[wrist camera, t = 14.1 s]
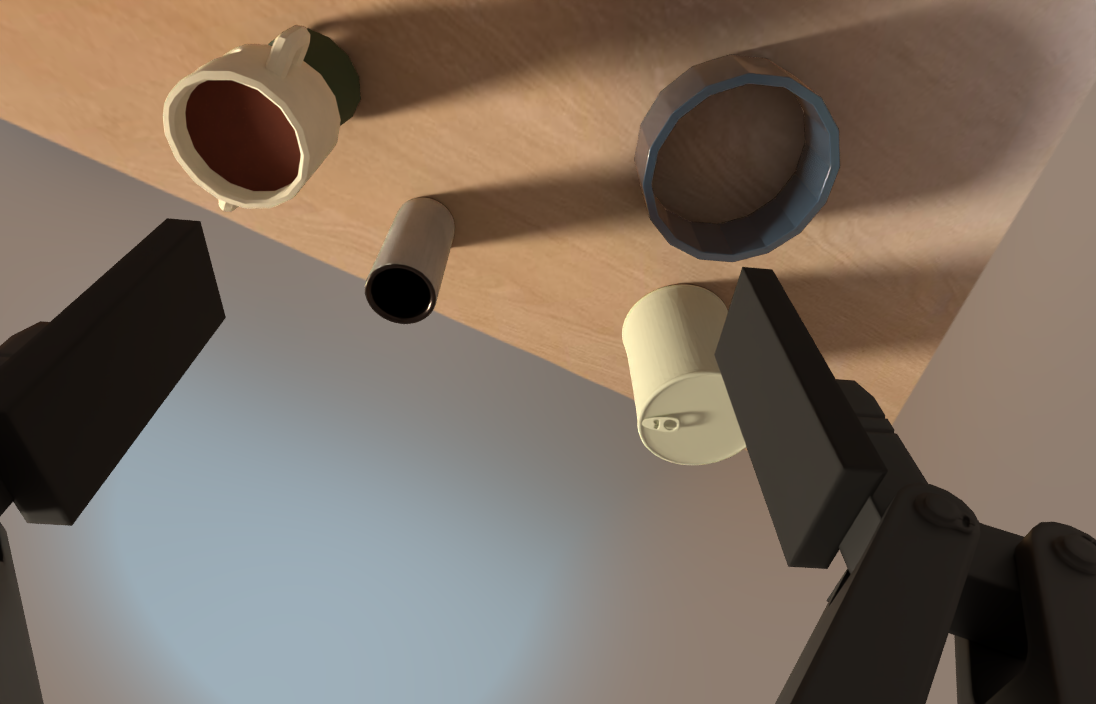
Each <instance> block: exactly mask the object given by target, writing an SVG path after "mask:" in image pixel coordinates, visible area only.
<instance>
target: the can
mask: <svg viewBox="0 0 1096 704" xmlns="http://www.w3.org/2000/svg"><path fill="white" fill-rule="evenodd" d="M727 314H728V310H727V308H726V306H725V304H724V303H723V301H722V300H721V299H720V298H719V297H718V296H716V295H715V294H714V293H712V292H711V291H709V290H707V289H704V288H702V287H699V286H694V285H687V284H679V285H670V286H666V287H663V288H660V289H657V290H655V291H653V292H650V293H649V294H647V295H645V296H644V297H643V298H641V299H640V300H639V301H638V302H637V303H636V304H635V305H634V306H633V307H632V308H631V310H630V311H629V313H628V315H627V316H626V319H625V321H624V325H623V330H622V338H623V344H624V346H625V349H626V351H627V356H628V362H629V367H630V373H631V379H632V385H633V392H634V398H635V404H636V411H637V419H638V432H639V435H640V438H641V440H642V442H643V443H644V445H645V446H646V447H647V448H648V449H649V450H650V451H651V452H652V453H653V454H655V455H656V456H658V457H660V458H662V459H664V460H666V461H669V462H672V463H677V464H682V465H704V464H710V463H715V462H718V461H722V460H724V459H727V458H729V457H732V456H734V455H736V454H737V453H739V452H740V451H742V450H744V449H745V448H746V444H745V441H744V438H743V436H742V433H741V430H740V427H739V424H738V421H737V418H736V415H735V413H734V410H733V407H732V404H731V401H730V398H729V395H728V393H727V390H726V387H725V384H724V381H723V378H722V375H721V373H720V370H719V367H718V364H717V361H716V358H715V355H714V354H715V351H716V348H717V345H718V342H719V339H720V335H721V332H722V329H723V326H724V323H725V320H726V317H727Z"/></svg>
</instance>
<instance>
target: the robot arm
mask: <svg viewBox="0 0 1096 704" xmlns="http://www.w3.org/2000/svg"><path fill="white" fill-rule="evenodd" d="M224 319H225V313H224V309H223V306H222V302H221V298H220V294H219V291H218V287H217V283H216V279H215V275H214V272H213V268H212V264H211V260H210V256H209V252H208V248H207V245H206V241H205V237H204V233H203V229H202V226H201V222H200V221H191V220H179V219H166V220H165V221H164V222H163V223H162V224H160V225H159V226H158V227H157V228H156V229H155V230H153V231H152V232H151V233H150V234H149V235H148V236H147V237H146V238H145V239H143V240H142V241H141V242H140V243H139V244H138V245H137V246H135V247H134V248H133V249H132V250H131V251H130V252H129V253H128V254H126V255H125V256H124V257H123V258H122V259H121V260H120V261H118V262H117V263H116V264H115V265H114V266H113V267H112V268H111V269H110V270H109V271H107V272H106V273H105V274H104V275H103V276H102V277H100V278H99V279H98V280H97V281H96V282H95V283H94V284H93V285H92V286H90V287H89V288H88V289H87V290H86V291H85V292H83V293H82V294H81V295H80V296H79V297H78V298H77V299H76V300H75V301H73V302H72V303H71V304H70V305H69V306H68V307H67V308H65V309H64V310H63V311H62V312H61V313H60V314H59V315H58V316H56V317H55V318H54V319H53V320H52V321H51V322H39V323H36V324H35V325H33V326H31V327H29V328H26V329H24V330H23V331H21V332H18V333H17V334H15V335H13V336H11V337H10V338H9V339H8V340H6V341H5V342H4V343H3V344H2V345H1V346H0V516H1V515H2V514H3V513H4V511H5V510H6V509H7V508H8V506H9V505H10V504H11V503H12V502H14V503H15V505H16V506H17V508H18V510H19V511H20V513H21V514H22V516H23V517H24V519H25V520H26V522H27V523H36V524H53V525H70V526H72V525H73V524H74V522H75V521H76V519H77V518H78V517H79V515H80V514H81V513H82V511H83V510H84V509H85V507H86V506H87V505H88V503H89V502H90V500H91V499H92V498H93V496H94V495H95V494H96V492H97V491H98V490H99V488H100V487H101V485H102V484H103V483H104V482H105V480H106V479H107V477H108V476H109V475H110V473H111V472H112V471H113V469H114V468H115V467H116V465H117V464H118V463H119V461H120V460H121V459H122V457H123V456H124V455H125V453H126V452H127V450H128V449H129V448H130V446H131V445H132V444H133V442H134V441H135V440H136V438H137V437H138V436H139V434H140V433H141V431H142V430H143V429H144V427H145V426H146V425H147V423H148V422H149V421H150V419H151V418H152V417H153V415H154V414H155V412H156V411H157V410H158V408H159V407H160V406H161V404H162V403H163V402H164V400H165V399H166V398H167V396H168V395H169V393H170V392H171V391H172V390H173V388H174V387H175V385H176V384H177V383H178V381H179V380H180V379H181V377H182V376H183V375H184V373H185V372H186V371H187V369H188V368H189V366H190V365H191V363H192V362H193V361H194V360H195V358H196V357H197V356H198V354H199V353H200V352H201V350H202V349H203V348H204V346H205V344H206V343H207V342H208V341H209V339H210V338H211V337H212V335H213V334H214V332H215V331H216V330H217V329H218V327H219V326H220V324H221V323H222V322H223V320H224ZM714 355H715V358H716V361H717V364H718V367H719V370H720V373H721V375H722V378H723V381H724V384H725V387H726V390H727V393H728V395H729V398H730V401H731V404H732V407H733V410H734V413H735V415H736V418H737V421H738V424H739V427H740V430H741V433H742V436H743V438H744V441H745V444H746V447H747V450H748V453H749V456H750V458H751V461H752V464H753V467H754V470H755V473H756V476H757V478H758V481H759V484H760V487H761V490H762V493H763V496H764V498H765V501H766V504H767V507H768V510H769V513H770V516H771V518H772V521H773V524H774V527H775V530H776V533H777V536H778V539H779V541H780V544H781V547H782V550H783V553H784V556H785V558H786V561H787V564H788V566H789V567H805V568H806V567H807V568H822V569H828V567H829V565H830V564H831V562H832V561H833V559H834V557H835V556H836V554H837V552H838V551H839V549H840V551H841V554H842V556H843V558H844V561H845V563H846V565H847V568H848V569H847V570H846V572H845V573H844V575H843V576H842V578H841V579H840V581H839V583H838V584H837V585H836V587H835V589H834V590H833V592H832V593H831V595H830V596H829V598H828V599H827V601H828V604H827V606H826V608H825V610H824V612H823V614H822V616H821V618H820V619H819V622H818V623H817V625H816V627H815V629H814V631H813V633H812V635H811V637H810V638H809V640H808V642H807V644H806V646H805V648H804V650H803V652H802V654H801V656H800V657H799V659H798V661H797V663H796V665H795V667H794V669H793V671H792V673H791V674H790V676H789V678H788V680H787V682H786V684H785V686H784V688H783V690H782V692H781V693H780V695H779V697H778V699H777V701H776V703H775V704H925V703H926V700H927V697H928V694H929V691H930V688H931V685H932V682H933V679H934V676H935V673H936V669H937V667H938V664H939V661H940V657H941V654H942V651H943V648H944V645H945V642H946V639H947V636H948V633H950V634H953V635H955V657H956V678H957V679H956V680H957V702H958V704H1096V540H1095V539H1094V538H1092V537H1091V536H1090V535H1088V534H1086V533H1084V532H1082V531H1080V530H1078V529H1076V528H1073V527H1072V526H1068V525H1065V524H1061V523H1057V522H1041V523H1039V524H1038V525H1036V526H1035V527H1033V528H1032V530H1031V531H1030V532H1029V533H1028V534H1027V535H1026V536H1025V537H1023V536H1020V535H1017V534H1013V533H1010V532H1006V531H1004V530H1000V529H997V528H994V527H990V526H987V525H984V524H982V523H979V521H978V520H977V518H976V516H975V514H974V512H973V511H972V510H971V509H970V508H969V507H968V506H967V505H966V504H965V503H964V502H963V501H962V500H960V499H959V498H957V497H956V496H954V495H953V494H951V493H950V492H948V491H946V490H944V489H941V488H939V487H936V486H934V485H931V484H928V483H927V481H926V480H925V478H924V476H923V475H922V473H921V472H920V470H919V468H918V467H917V465H916V463H915V462H914V460H913V459H912V457H911V456H910V454H909V452H908V451H907V449H906V448H905V446H904V444H903V443H902V441H901V440H900V438H899V436H898V435H897V434H894V429H893V427H892V425H891V424H890V422H889V421H888V419H885V414H884V413H883V411H882V409H881V408H880V406H879V405H878V403H877V401H876V400H875V398H874V397H873V396H872V395H871V394H869V393H868V392H867V391H866V390H865V389H864V388H862V387H861V386H860V385H859V384H858V383H857V382H855V381H852V380H839V379H835V377H834V376H833V374H832V372H831V370H830V369H829V367H828V365H827V363H826V362H825V360H824V358H823V356H822V355H821V353H820V351H819V350H818V348H817V346H816V344H815V343H814V341H813V339H812V337H811V336H810V334H809V332H808V330H807V329H806V327H805V325H804V323H803V322H802V320H801V318H800V317H799V315H798V313H797V311H796V310H795V308H794V306H793V304H792V303H791V301H790V299H789V297H788V296H787V294H786V292H785V290H784V289H783V287H782V285H781V283H780V282H779V280H778V278H777V277H776V275H775V273H774V271H773V270H771V269H760V268H748V267H742V270H741V273H740V276H739V279H738V282H737V286H736V289H735V292H734V295H733V298H732V301H731V304H730V307H729V310H728V314H727V317H726V320H725V323H724V326H723V329H722V332H721V335H720V339H719V342H718V345H717V348H716V351H715V354H714ZM0 704H44V703H43V699H42V694H41V689H40V685H39V680H38V675H37V671H36V666H35V662H34V657H33V653H32V648H31V643H30V639H29V634H28V629H27V625H26V620H25V615H24V611H23V606H22V601H21V597H20V592H19V588H18V583H17V578H16V574H15V569H14V564H13V560H12V555H11V550H10V546H9V541H8V537H7V532H6V530H5V529H4V527H3V526H2V524H1V523H0Z"/></svg>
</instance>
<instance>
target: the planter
mask: <svg viewBox="0 0 1096 704" xmlns="http://www.w3.org/2000/svg"><path fill="white" fill-rule="evenodd" d="M454 231H455V224H454V220H453V217H452V215H451V213H450V212H449V210H448V209H447V208H446V207H445V206H444V205H443V204H441V203H440V202H438V201H436V200H433V199H430V198H423V197H421V198H414V199H411V200H409V201H407V202H406V203H404V204H403V205H402V206H401V208H400V209H399V211H398V212H397V214H396V216H395V218H394V221H393V223H392V225H391V227H390V229H389V232H388V234H387V236H386V238H385V240H384V243H383V245H382V247H381V249H380V251H379V254H378V256H377V258H376V260H375V262H374V264H373V267H372V269H371V271H370V273H369V275H368V278H367V280H366V283H365V295H366V299H367V301H368V303H369V305H370V306H371V308H372V309H373V310H374V311H375V312H376V313H377V314H379V315H380V316H381V317H383V318H385V319H387V320H389V321H391V322H394V323H400V324H411V323H416V322H419V321H421V320H423V319H425V318H426V317H427V316H429V315H430V314H431V312H432V311H433V309H434V307H435V305H436V301H437V297H438V294H439V290H440V286H441V282H442V279H443V275H444V271H445V267H446V264H447V260H448V256H449V252H450V248H451V245H452V241H453V237H454Z"/></svg>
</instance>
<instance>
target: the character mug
mask: <svg viewBox="0 0 1096 704" xmlns="http://www.w3.org/2000/svg"><path fill="white" fill-rule="evenodd" d="M360 99H361V97H360V82H359V76H358V74H357V72H356V70H355V68H354V66H353V64H352V62H351V60H350V58H349V56H348V55H347V54H346V53H345V52H344V51H343V50H342V49H341V48H340V47H339V46H338V45H337V44H335V43H334V42H333V41H332V40H331V39H330V38H329V37H326V36H324V35H322V34H320V33H317V32H315V31H313V30H310V29H308V28H307V29H306V27H304V26H298V25H295V26H293V27H291V28H289V29H287V30H286V31H284V32H282V33H281V34H280V35H279V36H278V37H277V38H276V39H274V40H273V41H271V42H270V43H269V44H268V45H261V44H246V45H242V46H239V47H236V48H234V49H232V50H231V51H229V52H228V53H226V54H225V55H223V56H222V57H219V58H216V59H214V60H212V61H210V62H208V63H206V64H205V65H203V66H201V67H199V68H198V69H197V70H196V71H195V72H193V73H192V74H190V75H188V76H186V77H184V78H183V79H181V80H180V81H179V82H178V83H177V84H176V86H175V87H174V88H173V89H172V90H171V91H170V93H169V95H168V97H167V99H166V101H165V103H164V111H163V122H164V131H165V136H166V138H167V140H168V143H169V145H170V147H171V150H172V152H173V154H174V157H175V159H176V160H177V161H178V162H179V164H180V165H181V166H182V167H183V169H184V170H185V171H186V172H187V174H188V175H189V176H190V177H191V178H192V180H193V181H194V182H195V183H197V184H198V185H199V186H201V187H202V188H203V189H205V190H206V191H208V192H209V193H210V194H212V195H213V196H214V197H216V198H217V199H219V207H220V208H221V209H222V210H223V211H228V212H232V211H233V210H235V209H236V208H237V207H242V208H272V207H275V206H277V205H279V204H281V203H284V202H286V201H288V200H291V199H292V198H293V197H294V196H296V194H297V193H298V192H299V191H300V189H301V188H302V187H303V186H304V185H305V183H306V182H307V181H308V180H309V178H310V177H311V176H312V175H313V173H314V172H315V171H316V170H317V169H318V167H319V166H320V165H321V164H322V162H323V161H324V160H325V159H326V157H327V156H328V155H329V153H330V152H331V151H332V150H333V148H334V147H335V146H336V143H337V140H338V134H339V128H340V125H342V124H343V123H345V122H346V121H347V120H349V119H350V118H351V117H353V115H354V112H355V110H356V108H357V106H358V103H359V101H360Z"/></svg>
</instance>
